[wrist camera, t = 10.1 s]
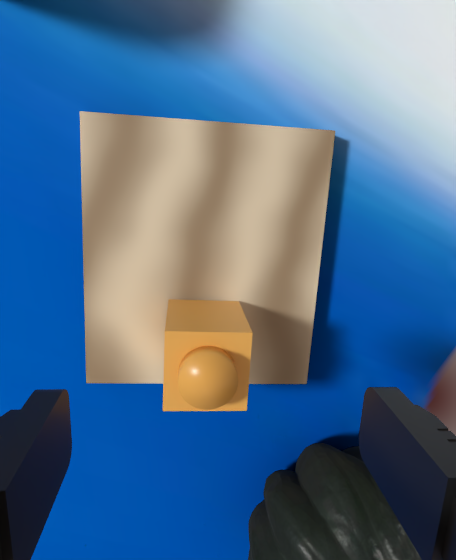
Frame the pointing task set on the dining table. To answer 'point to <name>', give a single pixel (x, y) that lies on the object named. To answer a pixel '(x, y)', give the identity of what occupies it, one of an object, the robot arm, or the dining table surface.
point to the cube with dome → (206, 356)
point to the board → (200, 237)
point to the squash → (326, 512)
